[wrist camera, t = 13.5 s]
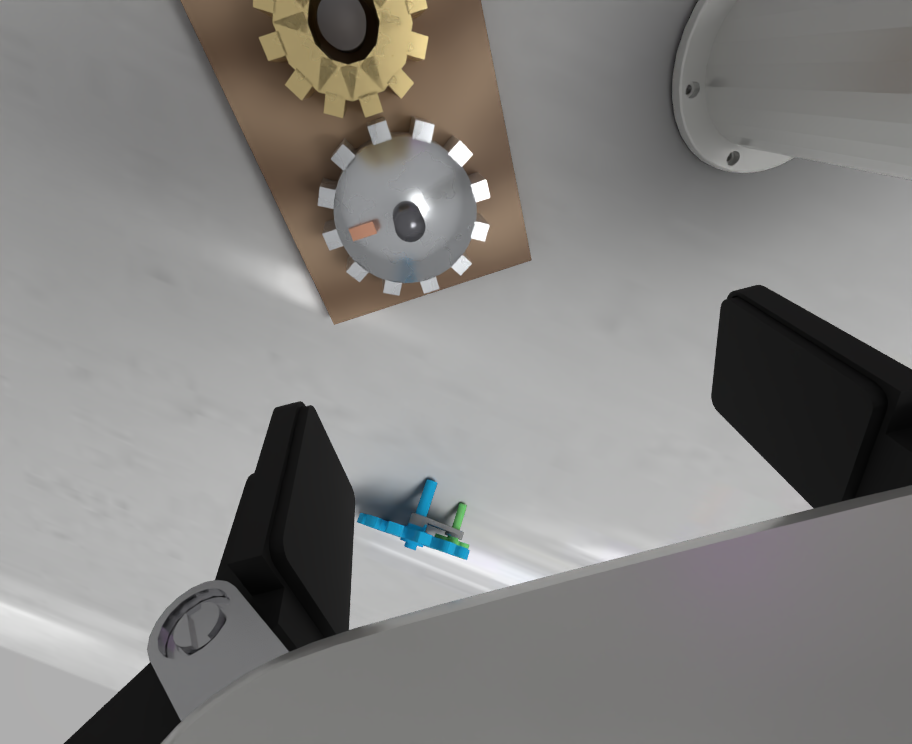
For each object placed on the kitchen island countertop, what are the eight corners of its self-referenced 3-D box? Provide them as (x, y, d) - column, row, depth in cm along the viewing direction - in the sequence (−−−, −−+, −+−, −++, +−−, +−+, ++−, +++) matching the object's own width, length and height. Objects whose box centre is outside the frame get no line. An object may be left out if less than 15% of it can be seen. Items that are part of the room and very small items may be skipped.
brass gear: (391, -91, 22) (396, -120, 19) (437, 88, 26) (448, 90, 23) (240, -40, 22) (218, -60, 19) (309, 130, 26) (300, 139, 23)
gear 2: (333, 521, 42) (400, 546, 35) (359, 457, 44) (427, 467, 37) (424, 552, 48) (497, 578, 41) (442, 494, 50) (515, 509, 43)
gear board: (4, -394, 18) (-158, -604, 12) (369, -521, 17) (371, -793, 12) (335, 315, 34) (329, 361, 28) (525, 253, 34) (556, 287, 28)
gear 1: (458, 91, 27) (475, 95, 22) (496, 254, 32) (516, 281, 28) (292, 146, 27) (279, 160, 23) (358, 299, 32) (357, 333, 28)
